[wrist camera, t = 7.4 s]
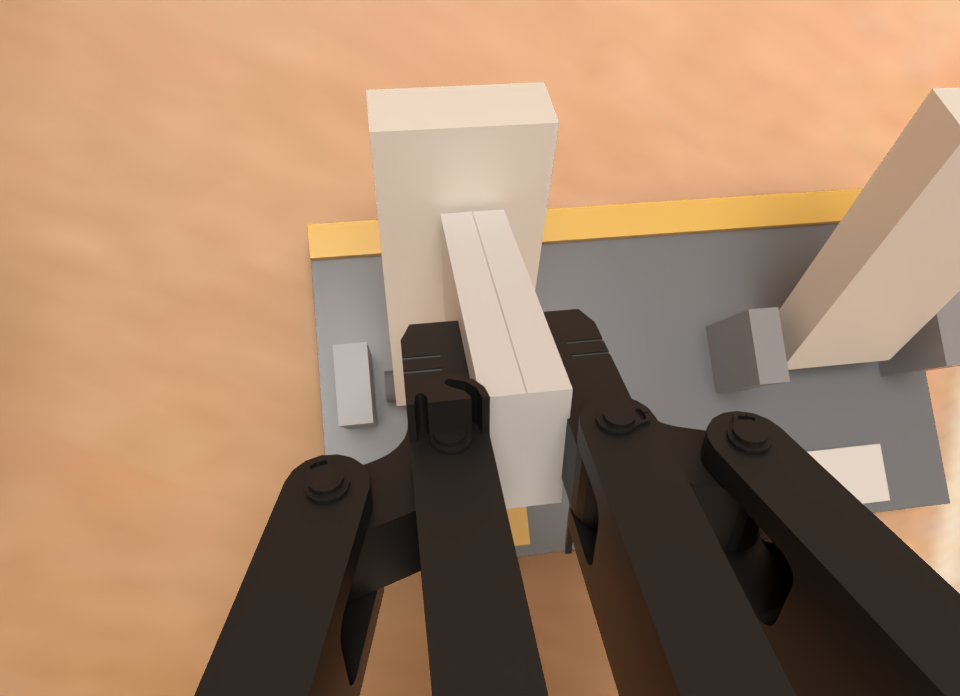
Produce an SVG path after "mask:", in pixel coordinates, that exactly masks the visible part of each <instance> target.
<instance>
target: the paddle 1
mask: <svg viewBox="0 0 960 696" xmlns="http://www.w3.org/2000/svg"><path fill="white" fill-rule="evenodd" d="M366 94H367V107H368V121H369V134H370V144H371V154H372V164H373V174H374V184H375V194H376V204H377V214H378V224H379V234H380V245H381V255H382V265H383V275H384V285H385V295H386V305H387V315H388V325H389V335H390V345H391V355H392V365H393V371H384V377H385V389H386V399H387V402H393V401H396V406H403V405H406V397H405V386H404V375H403V363H402V352H401V339H402V337H403V335H404V333H405V331H406V330H407V328H408V326H409V324H421V323H433V322H445V321H446V319H445V313H444V296H443V270H442V245H441V220H440V214H444V213H459V212H474V211H489V210H504V212H505V214H506V217H507V219H508V222H509V225H510V227H511V230H512V232H513V235H514V238H515V240H516V243H517V245H518V248H519V251H520V253H521V256H522V258H523V261H524V264H525V266H526V269H527V271H528V274H529V277H530V279H531V282H532V284H533V287H534V290H535V289H536V282H537V275H538V268H539V261H540V254H541V246H542V239H543V232H544V225H545V218H546V211H547V204H548V197H549V190H550V183H551V176H552V169H553V162H554V155H555V148H556V140H557V133H558V126H559V121H558V119H557V116H556V113H555V110H554V108H553V105H552V102H551V99H550V97H549V94H548V91H547V89H546V86H545V83H544V82H537V83H514V84H491V85H468V86H444V87H421V88H398V89H375V90H366Z"/></svg>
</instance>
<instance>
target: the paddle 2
mask: <svg viewBox="0 0 960 696" xmlns="http://www.w3.org/2000/svg"><path fill="white" fill-rule="evenodd" d="M959 291H960V87H956V88H935V89H932V90H931V91H930V93H929V94H928V96H927V97H926V99H925V100H924V101H923V103H922V104H921V106H920V107H919V109H918V110H917V112H916V113H915V114H914V116H913V117H912V119H911V120H910V122H909V123H908V125H907V126H906V127H905V129H904V130H903V132H902V133H901V135H900V136H899V138H898V139H897V140H896V142H895V143H894V145H893V146H892V148H891V149H890V151H889V152H888V153H887V155H886V156H885V158H884V159H883V161H882V162H881V164H880V165H879V166H878V168H877V169H876V171H875V172H874V174H873V175H872V177H871V178H870V180H869V181H868V182H867V184H866V185H865V187H864V188H863V190H862V191H861V193H860V194H859V195H858V197H857V198H856V200H855V201H854V203H853V204H852V206H851V207H850V208H849V210H848V211H847V213H846V214H845V216H844V217H843V219H842V220H841V221H840V223H839V224H838V226H837V227H836V229H835V230H834V232H833V233H832V234H831V236H830V237H829V239H828V240H827V242H826V243H825V245H824V246H823V247H822V249H821V250H820V252H819V253H818V255H817V256H816V258H815V259H814V260H813V262H812V263H811V265H810V266H809V268H808V269H807V271H806V272H805V273H804V275H803V276H802V278H801V279H800V281H799V282H798V284H797V285H796V286H795V288H794V289H793V291H792V292H791V294H790V295H789V297H788V298H787V299H786V301H785V302H784V304H783V305H782V307H781V308H780V310H779V316H780V322H781V328H782V334H783V340H784V347H785V353H786V359H787V365H788V370H791V369H802V368H812V367H822V366H833V365H843V364H854V363H864V362H874V361H885V360H890V359H891V358H892V357H893V356H894V355H895V354H896V353H897V352H898V351H899V350H900V349H901V348H902V347H903V346H904V345H905V344H906V343H907V342H908V341H909V340H910V339H911V338H912V337H913V336H914V335H915V334H916V333H917V332H918V331H919V330H920V329H921V328H922V327H923V326H924V325H925V324H927V323H928V322H929V321H930V320H931V319H932V318H933V317H934V316H935V315H936V314H937V313H938V312H939V311H940V310H941V309H942V308H943V307H944V306H945V305H946V304H947V303H948V302H949V301H950V300H951V299H952V298H953V297H954V296H955V295H956V294H957V293H958V292H959Z"/></svg>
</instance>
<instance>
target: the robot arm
mask: <svg viewBox="0 0 960 696" xmlns="http://www.w3.org/2000/svg"><path fill="white" fill-rule="evenodd" d="M440 220H441V245H442V270H443V296H444V313H445V319H446V321H445V322H433V323H421V324H409V326H408V328H407V330H406V331H405V333H404V335H403V337H402V339H401V352H402V363H403V375H404V386H405V397H406V409H407V420H408V427H407V433H406V435H405V437H404V440H403V441H402V442H401V443H400V445H399V446H398V447H397V448H396V449H395V450H393V451H392V452H391V453H389V454H388V455H386V456H384V457H382V458H380V459H377V460H375V461H372V462H369V463H367V464H364V465H363V464H361V463H360V462H358V461H357V460H355V459H354V458H352V457H348V456H344V455H339V454H334V455H321V456H318V457H316V458H313V459H310V460H307V461H305V462H304V463H302V464H301V465H300V466H298V467H297V468H295V469H294V470H293V471H292V472H291V474H290V475H289V477H288V478H287V479H286V481H285V482H284V485H283V487H282V490H281V492H280V494H279V497H278V499H277V501H276V504H275V506H274V508H273V511H272V513H271V516H270V518H269V520H268V523H267V525H266V527H265V530H264V532H263V534H262V537H261V539H260V542H259V544H258V546H257V549H256V551H255V553H254V556H253V558H252V560H251V563H250V565H249V568H248V570H247V572H246V575H245V577H244V579H243V582H242V584H241V587H240V589H239V591H238V594H237V596H236V598H235V601H234V603H233V605H232V608H231V610H230V613H229V615H228V617H227V620H226V622H225V624H224V627H223V629H222V631H221V634H220V636H219V639H218V641H217V643H216V646H215V648H214V650H213V653H212V655H211V657H210V660H209V662H208V665H207V667H206V669H205V672H204V674H203V676H202V679H201V681H200V683H199V686H198V688H197V691H196V693H195V695H194V696H359V695H360V691H361V687H362V683H363V678H364V674H365V670H366V666H367V661H368V657H369V653H370V648H371V644H372V640H373V636H374V631H375V627H376V623H377V619H378V614H379V610H380V606H381V601H382V597H383V593H384V587H385V586H387V585H389V584H392V583H394V582H396V581H398V580H401V579H403V578H405V577H407V576H410V575H412V574H414V573H416V572H419V571H421V578H422V589H423V600H424V611H425V622H426V633H427V644H428V655H429V665H430V676H431V687H432V696H548V692H547V688H546V683H545V679H544V674H543V670H542V665H541V661H540V657H539V652H538V648H537V643H536V639H535V634H534V630H533V625H532V621H531V616H530V612H529V608H528V603H527V599H526V594H525V590H524V585H523V581H522V576H521V572H520V567H519V563H518V558H517V554H516V550H515V545H514V541H513V536H512V532H511V527H510V523H509V518H508V514H507V509H510V508H519V507H527V506H536V505H545V504H553V503H561V500H562V490H563V484H564V487H565V490H566V493H567V497H568V500H569V511H568V520H567V529H566V538H565V554H569V553H571V552H572V544H574V547H575V550H576V554H577V557H578V560H579V564H580V567H581V570H582V574H583V577H584V580H585V584H586V587H587V590H588V594H589V597H590V600H591V604H592V607H593V610H594V614H595V617H596V620H597V624H598V627H599V630H600V633H601V637H602V640H603V643H604V647H605V650H606V653H607V657H608V660H609V663H610V667H611V670H612V673H613V677H614V680H615V683H616V687H617V690H618V693H619V696H960V594H959V593H958V592H957V591H956V590H955V589H954V588H953V587H952V586H951V585H949V584H948V583H947V582H946V581H945V580H944V579H943V578H942V577H941V576H940V575H939V574H938V573H937V572H935V571H934V570H933V569H932V568H931V567H930V566H929V565H928V564H927V563H926V562H925V561H924V560H923V559H922V558H920V557H919V556H918V555H917V554H916V553H915V552H914V551H913V550H912V549H911V548H910V547H909V546H908V545H906V544H905V543H904V542H903V541H902V540H901V539H900V538H899V537H898V536H897V535H896V534H895V533H894V532H892V531H891V530H890V529H889V528H888V527H887V526H886V525H885V524H884V523H883V522H882V521H881V520H880V519H878V518H877V517H876V516H875V515H874V514H873V513H872V512H871V511H870V510H869V509H868V508H867V507H866V506H865V505H863V504H862V503H861V502H860V501H859V500H858V499H857V498H856V497H855V496H854V495H853V494H852V493H851V492H849V491H848V490H847V489H846V488H845V487H844V486H843V485H842V484H841V483H840V482H839V481H838V480H837V479H835V478H834V477H833V476H832V475H831V474H830V473H829V472H828V471H827V470H826V469H825V468H824V467H823V466H821V465H820V464H819V463H818V462H817V461H816V460H815V459H814V458H813V457H812V456H811V455H810V454H809V453H808V452H806V451H805V450H804V449H803V448H802V447H801V446H800V445H799V444H798V443H797V442H796V441H795V440H794V439H792V438H791V437H790V436H789V435H788V434H787V433H786V432H785V431H784V430H783V429H782V428H781V427H779V426H778V425H776V424H775V423H773V422H772V421H770V420H769V419H767V418H765V417H762V416H759V415H757V414H754V413H749V412H741V411H733V412H725V413H722V414H720V415H718V416H716V417H714V418H712V420H711V422H710V423H709V425H708V426H707V429H706V430H699V429H691V428H684V427H677V426H673V425H668V424H664V423H662V422H659V421H658V420H657V418H656V417H655V415H654V414H653V413H652V412H651V410H650V409H649V408H648V407H646V406H645V405H643V404H641V403H640V402H638V401H637V400H633V399H632V398H631V396H630V394H629V392H628V390H627V388H626V386H625V384H624V382H623V380H622V377H621V375H620V373H619V371H618V369H617V367H616V365H615V363H614V361H613V359H612V357H611V355H610V354H609V350H608V348H607V346H606V344H605V342H604V341H603V340H602V336H601V334H600V332H599V330H598V328H597V325H596V323H595V322H594V321H593V320H592V319H590V318H589V317H588V316H587V315H586V314H584V313H583V312H582V311H581V310H579V309H570V310H558V311H546V312H543V310H542V308H541V305H540V303H539V300H538V297H537V295H536V292H535V290H534V287H533V284H532V282H531V279H530V277H529V274H528V271H527V269H526V266H525V264H524V261H523V258H522V256H521V253H520V251H519V248H518V245H517V243H516V240H515V238H514V235H513V232H512V230H511V227H510V225H509V222H508V219H507V217H506V214H505V212H504V210H489V211H474V212H459V213H444V214H440Z"/></svg>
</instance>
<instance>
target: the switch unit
mask: <svg viewBox="0 0 960 696" xmlns="http://www.w3.org/2000/svg"><path fill="white" fill-rule="evenodd" d="M862 190H863V188H860V189H844V190H829V191H813V192H798V193H783V194H767V195H752V196H736V197H721V198H706V199H690V200H675V201H659V202H644V203H629V204H613V205H598V206H582V207H567V208H552V209H547V211H546V218H545V225H544V232H543V239H542V246H541V254H540V261H539V268H538V275H537V282H536V289H535V292H536V295H537V297H538V300H539V303H540V305H541V308H542V310H543V312H546V311H558V310H570V309H579V310H581V311H582V312H583V313H584V314H586V315H587V316H588V317H589V318H590V319H592V320H593V321H594V322H595V323H596V325H597V328H598V330H599V332H600V334H601V336H602V340H603V341H604V342H605V344H606V346H607V348H608V350H609V354H610V355H611V357H612V359H613V361H614V363H615V365H616V367H617V369H618V371H619V373H620V375H621V377H622V380H623V382H624V384H625V386H626V388H627V390H628V392H629V394H630V396H631V398H632V399H633V400H637V401H638V402H640V403H641V404H643V405H645V406H646V407H648V408H649V409H650V410H651V412H652V413H653V414H654V415H655V417H656V418H657V420H658V421H659V422H662V423H664V424H668V425H673V426H677V427H684V428H691V429H699V430H706V429H707V426H708V425H709V423H710V422H711V420H712V418H714V417H716V416H718V415H720V414H722V413H725V412H733V411H741V412H749V413H754V414H757V415H759V416H762V417H765V418H767V419H769V420H770V421H772V422H773V423H775V424H776V425H778V426H779V427H781V428H782V429H783V430H784V431H785V432H786V433H787V434H788V435H789V436H790V437H791V438H792V439H794V440H795V441H796V442H797V443H798V444H799V445H800V446H801V447H802V448H803V449H804V450H805V451H806V452H808V453H809V454H810V455H811V456H812V457H813V458H814V459H815V460H816V461H817V462H818V463H819V464H820V465H821V466H823V467H824V468H825V469H826V470H827V471H828V472H829V473H830V474H831V475H832V476H833V477H834V478H835V479H837V480H838V481H839V482H840V483H841V484H842V485H843V486H844V487H845V488H846V489H847V490H848V491H849V492H851V493H852V494H853V495H854V496H855V497H856V498H857V499H858V500H859V501H860V502H861V503H862V504H863V505H865V506H866V507H867V508H868V509H869V510H870V511H871V512H872V513H875V512H883V511H891V510H899V509H907V508H915V507H923V506H932V505H940V504H948V503H950V500H949V495H948V489H947V484H946V479H945V473H944V468H943V463H942V457H941V452H940V447H939V441H938V436H937V431H936V425H935V420H934V415H933V409H932V404H931V399H930V393H929V388H928V383H927V377H926V372H925V371H928V370H935V369H941V368H948V367H955V366H960V291H959V292H958V293H957V294H956V295H955V296H954V297H953V298H952V299H951V300H950V301H949V302H948V303H947V304H946V305H945V306H944V307H943V308H942V309H941V310H940V311H939V312H938V313H937V314H936V315H935V316H934V317H933V318H932V319H931V320H930V321H929V322H928V323H927V324H925V325H924V326H923V327H922V328H921V329H920V330H919V331H918V332H917V333H916V334H915V335H914V336H913V337H912V338H911V339H910V340H909V341H908V342H907V343H906V344H905V345H904V346H903V347H902V348H901V349H900V350H899V351H898V352H897V353H896V354H895V355H894V356H893V357H892V358H891V359H890V360H885V361H874V362H864V363H854V364H843V365H833V366H822V367H812V368H802V369H791V370H788V365H787V359H786V353H785V347H784V340H783V334H782V328H781V322H780V316H779V310H780V308H781V307H782V305H783V304H784V302H785V301H786V299H787V298H788V297H789V295H790V294H791V292H792V291H793V289H794V288H795V286H796V285H797V284H798V282H799V281H800V279H801V278H802V276H803V275H804V273H805V272H806V271H807V269H808V268H809V266H810V265H811V263H812V262H813V260H814V259H815V258H816V256H817V255H818V253H819V252H820V250H821V249H822V247H823V246H824V245H825V243H826V242H827V240H828V239H829V237H830V236H831V234H832V233H833V232H834V230H835V229H836V227H837V226H838V224H839V223H840V221H841V220H842V219H843V217H844V216H845V214H846V213H847V211H848V210H849V208H850V207H851V206H852V204H853V203H854V201H855V200H856V198H857V197H858V195H859V194H860V193H861V191H862ZM308 238H309V252H310V259H311V265H312V279H313V293H314V307H315V321H316V334H317V348H318V362H319V376H320V390H321V403H322V417H323V431H324V445H325V455H334V454H339V455H344V456H348V457H352V458H354V459H355V460H357V461H358V462H360V463H361V464H363V465H364V464H367V463H369V462H372V461H375V460H377V459H380V458H382V457H384V456H386V455H388V454H389V453H391V452H392V451H393V450H395V449H396V448H397V447H398V446H399V445H400V443H401V442H402V441H403V440H404V437H405V435H406V433H407V427H408V420H407V409H406V405H403V406H396V401H393V402H387V399H386V389H385V377H384V371H393V365H392V355H391V345H390V335H389V325H388V315H387V305H386V295H385V285H384V275H383V265H382V255H381V245H380V234H379V224H378V220H367V221H351V222H336V223H320V224H308ZM568 511H569V500H568V497H567V493H566V490H565V487H564V484H563V490H562V500H561V503H553V504H545V505H536V506H527V507H519V508H510V509H507V514H508V518H509V523H510V527H511V532H512V536H513V541H514V545H515V550H516V554H517V557H519V556H527V555H535V554H543V553H551V552H560V551H565V538H566V529H567V520H568ZM572 550H575V547H574V544H572Z"/></svg>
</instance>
